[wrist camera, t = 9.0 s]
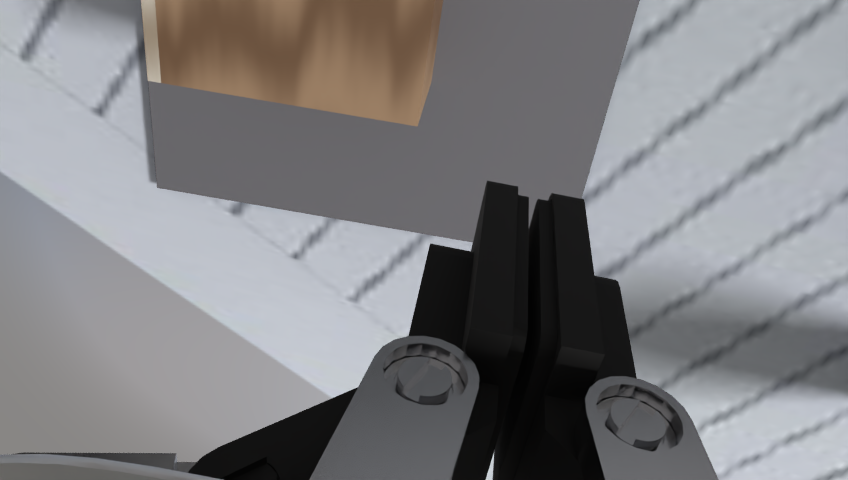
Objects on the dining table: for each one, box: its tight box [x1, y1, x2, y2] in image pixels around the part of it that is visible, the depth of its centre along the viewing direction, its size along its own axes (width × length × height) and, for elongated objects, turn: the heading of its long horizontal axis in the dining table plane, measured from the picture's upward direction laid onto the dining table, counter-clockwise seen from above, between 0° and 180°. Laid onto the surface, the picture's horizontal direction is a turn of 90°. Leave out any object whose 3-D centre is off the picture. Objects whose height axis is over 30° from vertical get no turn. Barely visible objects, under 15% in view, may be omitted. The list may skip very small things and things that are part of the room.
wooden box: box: [141, 0, 443, 127], centre depth 31 cm, size 6×6×12 cm
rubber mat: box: [148, 0, 640, 242], centre depth 33 cm, size 24×24×1 cm
